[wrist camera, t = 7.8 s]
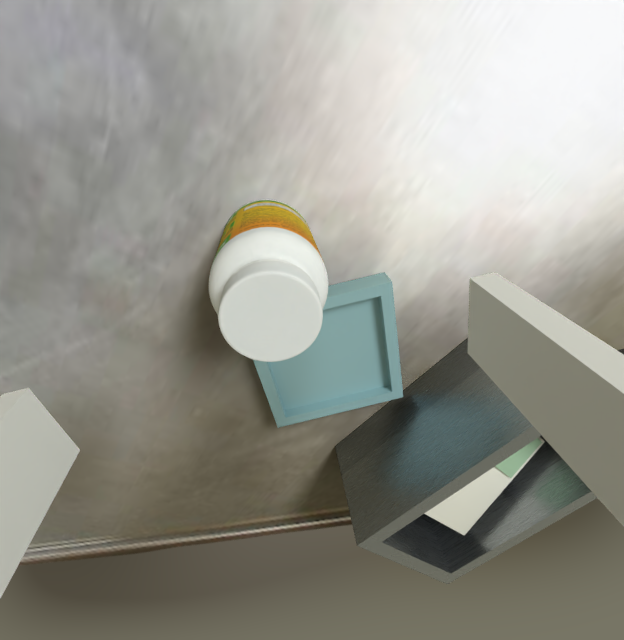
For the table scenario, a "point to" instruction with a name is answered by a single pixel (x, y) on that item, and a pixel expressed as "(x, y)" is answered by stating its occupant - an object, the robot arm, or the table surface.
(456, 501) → the block
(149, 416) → the table surface
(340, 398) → the tray
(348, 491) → the guard box
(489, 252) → the table surface
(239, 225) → the supplement bottle
